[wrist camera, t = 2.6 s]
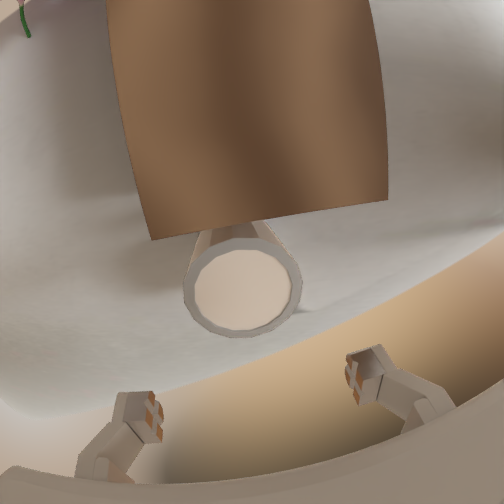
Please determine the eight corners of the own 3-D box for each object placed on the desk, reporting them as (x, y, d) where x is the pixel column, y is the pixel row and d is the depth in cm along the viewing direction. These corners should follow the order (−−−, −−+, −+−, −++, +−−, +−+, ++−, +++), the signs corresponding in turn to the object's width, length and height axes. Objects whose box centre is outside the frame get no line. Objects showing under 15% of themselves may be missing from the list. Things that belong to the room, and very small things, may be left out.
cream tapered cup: (173, 253, 23) (160, 307, 17) (224, 181, 21) (229, 212, 15) (244, 295, 26) (254, 354, 19) (297, 232, 24) (327, 278, 17)
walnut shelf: (290, -53, 13) (329, -114, 5) (325, 164, 21) (388, 199, 13) (139, -34, 13) (105, -95, 5) (175, 188, 21) (151, 240, 13)
